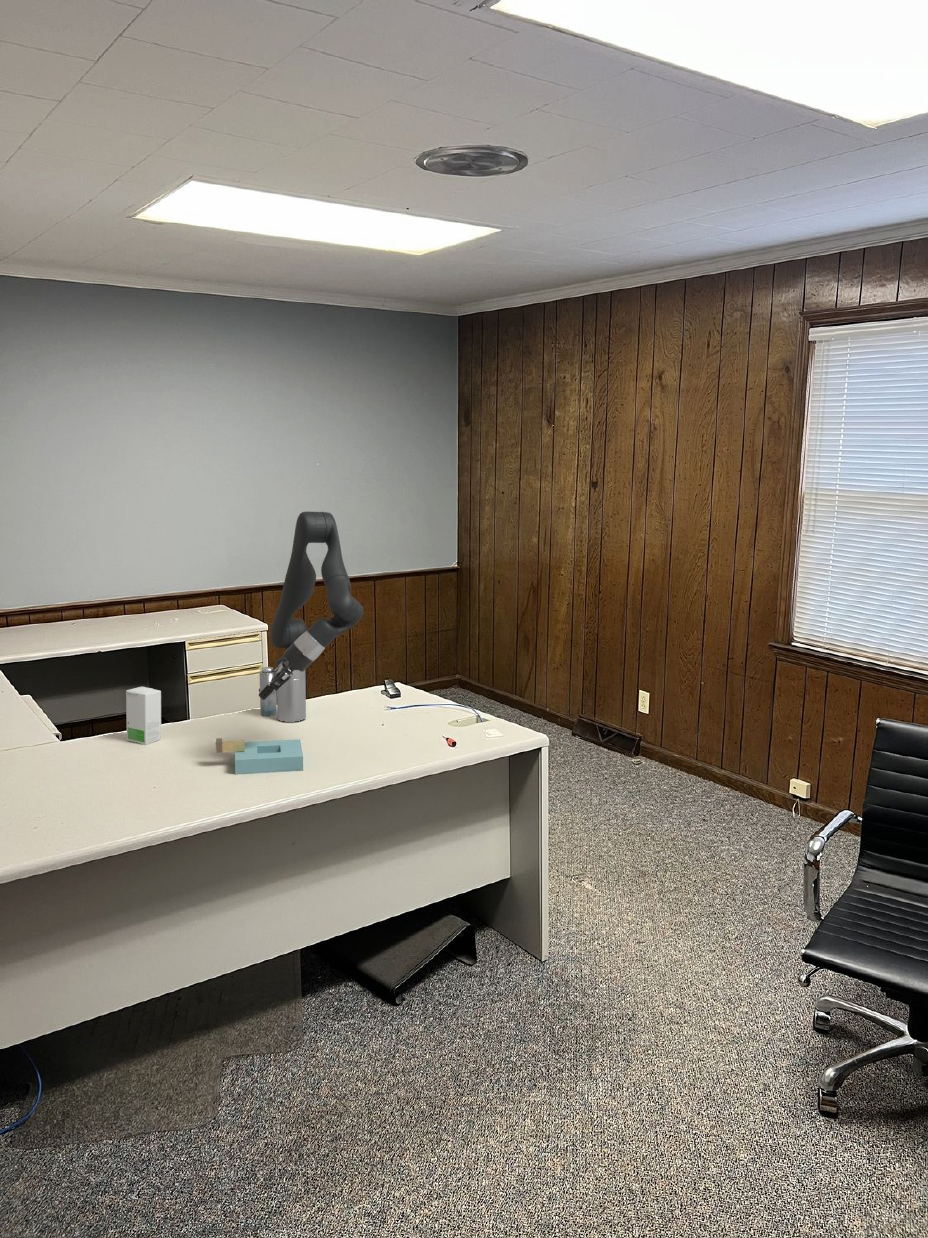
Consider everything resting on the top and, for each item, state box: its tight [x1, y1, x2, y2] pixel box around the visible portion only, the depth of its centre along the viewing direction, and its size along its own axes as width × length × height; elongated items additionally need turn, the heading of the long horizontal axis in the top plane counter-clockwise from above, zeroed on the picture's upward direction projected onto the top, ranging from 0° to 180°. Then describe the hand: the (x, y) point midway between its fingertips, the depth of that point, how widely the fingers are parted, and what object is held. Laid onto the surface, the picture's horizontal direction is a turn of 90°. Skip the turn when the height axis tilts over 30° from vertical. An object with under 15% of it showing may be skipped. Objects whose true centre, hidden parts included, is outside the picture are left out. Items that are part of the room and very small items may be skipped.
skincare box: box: [125, 686, 162, 746], centre depth 271 cm, size 8×7×16 cm
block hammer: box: [215, 737, 246, 754], centre depth 250 cm, size 3×8×3 cm, turn 103°
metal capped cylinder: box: [258, 666, 277, 718], centre depth 250 cm, size 4×4×13 cm
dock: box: [234, 738, 304, 775], centre depth 253 cm, size 16×18×4 cm
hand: (261, 695), depth 250 cm, fingers closed on metal capped cylinder, 4 cm apart
